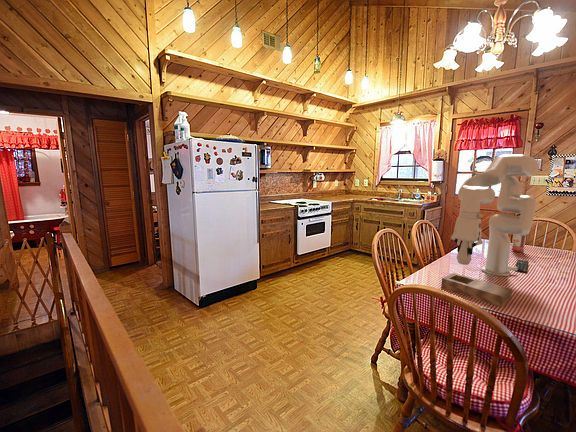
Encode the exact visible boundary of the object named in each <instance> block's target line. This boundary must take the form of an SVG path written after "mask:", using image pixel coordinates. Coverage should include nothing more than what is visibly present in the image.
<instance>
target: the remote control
mask: <svg viewBox="0 0 576 432" xmlns="http://www.w3.org/2000/svg"><path fill="white" fill-rule="evenodd" d="M529 263H530V261H529V260H523V259H517V260H516V263H515V267H517V268H518V270H517V271H516V272H517V273H522V274H527V273H528V268H529Z"/></svg>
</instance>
